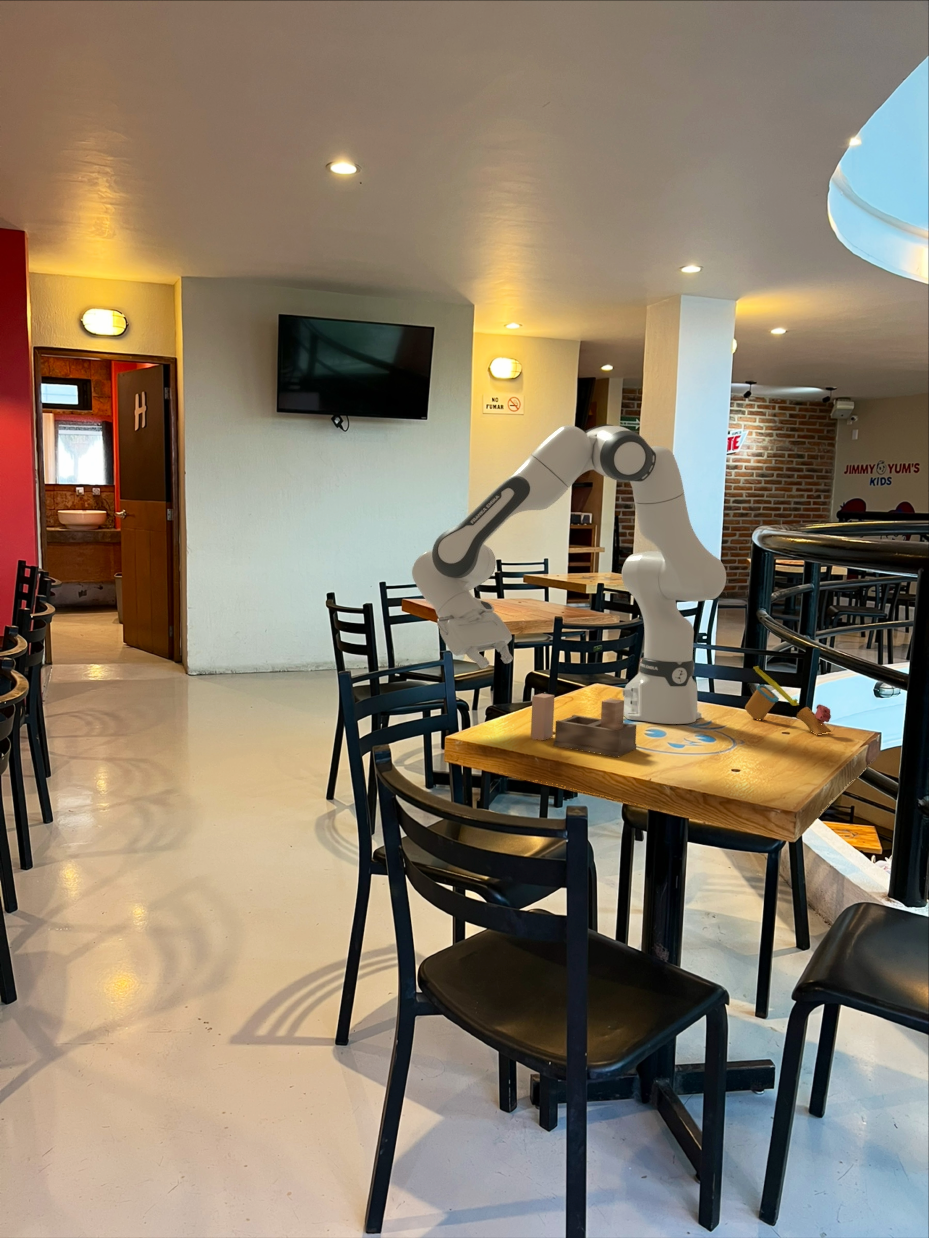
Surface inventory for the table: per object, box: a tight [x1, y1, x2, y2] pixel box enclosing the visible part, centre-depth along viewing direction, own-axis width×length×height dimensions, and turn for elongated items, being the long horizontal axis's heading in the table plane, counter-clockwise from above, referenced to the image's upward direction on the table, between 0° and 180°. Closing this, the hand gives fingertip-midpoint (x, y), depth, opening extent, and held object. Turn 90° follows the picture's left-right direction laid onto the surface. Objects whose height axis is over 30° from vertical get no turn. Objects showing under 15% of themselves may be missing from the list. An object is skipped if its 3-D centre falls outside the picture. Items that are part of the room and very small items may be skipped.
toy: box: [744, 665, 832, 735], centre depth 209 cm, size 5×22×15 cm
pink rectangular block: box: [530, 693, 555, 741], centre depth 190 cm, size 3×4×9 cm
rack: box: [553, 698, 637, 758], centre depth 183 cm, size 14×9×10 cm, turn 56°
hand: (497, 663), depth 195 cm, fingers open, 8 cm apart
